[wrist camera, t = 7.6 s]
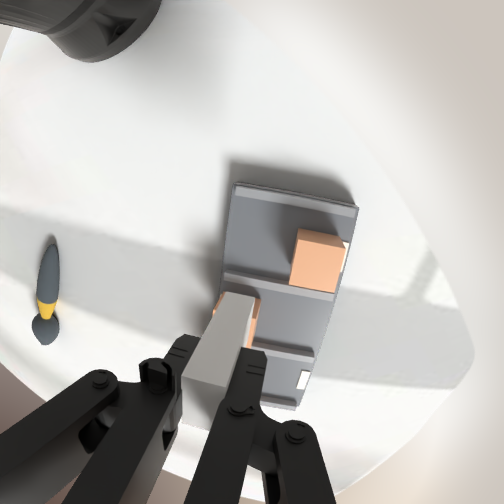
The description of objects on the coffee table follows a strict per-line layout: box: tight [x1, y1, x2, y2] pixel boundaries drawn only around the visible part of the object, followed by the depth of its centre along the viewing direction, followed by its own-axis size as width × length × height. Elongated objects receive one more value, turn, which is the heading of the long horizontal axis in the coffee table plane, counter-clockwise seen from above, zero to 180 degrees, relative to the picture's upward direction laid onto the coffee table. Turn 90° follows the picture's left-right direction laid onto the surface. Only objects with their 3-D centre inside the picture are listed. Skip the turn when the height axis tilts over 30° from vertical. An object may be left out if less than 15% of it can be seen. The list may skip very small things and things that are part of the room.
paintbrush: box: [32, 244, 59, 345], centre depth 37 cm, size 20×5×5 cm, turn 162°
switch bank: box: [218, 182, 359, 411], centre depth 32 cm, size 26×12×3 cm, turn 171°
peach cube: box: [213, 291, 261, 349], centre depth 29 cm, size 4×4×4 cm
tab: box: [289, 228, 346, 293], centre depth 26 cm, size 4×4×4 cm
